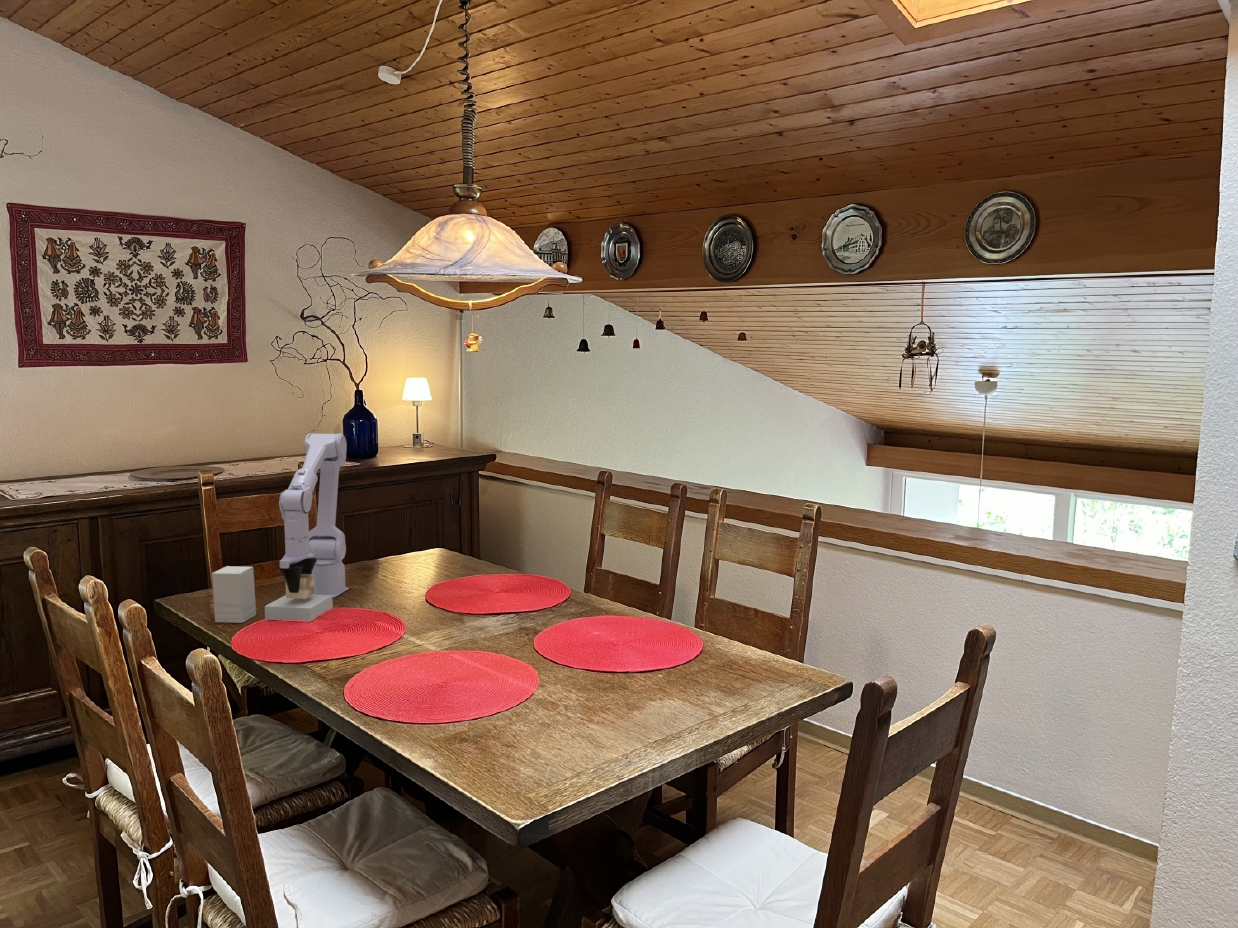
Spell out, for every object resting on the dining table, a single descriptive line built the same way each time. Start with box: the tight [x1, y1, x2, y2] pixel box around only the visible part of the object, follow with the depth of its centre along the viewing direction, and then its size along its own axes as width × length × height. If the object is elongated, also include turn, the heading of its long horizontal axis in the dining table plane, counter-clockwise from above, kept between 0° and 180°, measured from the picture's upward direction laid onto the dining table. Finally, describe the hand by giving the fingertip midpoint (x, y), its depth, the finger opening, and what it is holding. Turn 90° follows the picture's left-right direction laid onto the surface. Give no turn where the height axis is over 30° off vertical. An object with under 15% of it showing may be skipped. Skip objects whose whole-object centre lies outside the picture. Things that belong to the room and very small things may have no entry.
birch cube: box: [284, 574, 314, 599], centre depth 231 cm, size 5×5×5 cm
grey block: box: [264, 594, 334, 621], centre depth 232 cm, size 12×12×4 cm
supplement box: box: [211, 565, 257, 624], centre depth 227 cm, size 7×7×13 cm
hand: (299, 589), depth 231 cm, fingers closed on birch cube, 5 cm apart
